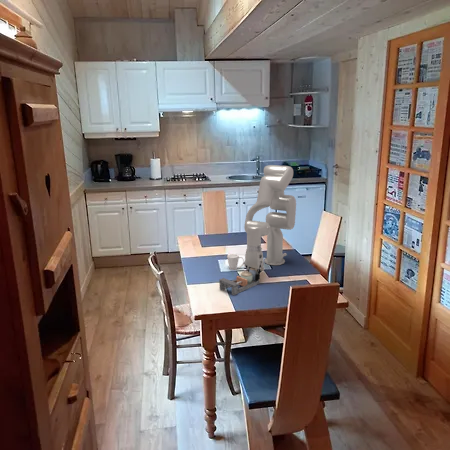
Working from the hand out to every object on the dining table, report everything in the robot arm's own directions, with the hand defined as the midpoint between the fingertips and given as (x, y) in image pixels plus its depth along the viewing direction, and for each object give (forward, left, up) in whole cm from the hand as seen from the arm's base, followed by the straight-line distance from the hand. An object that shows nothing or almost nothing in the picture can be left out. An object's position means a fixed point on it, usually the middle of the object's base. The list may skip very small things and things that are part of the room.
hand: (253, 278), depth 232 cm
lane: (+11, 0, -1) cm, 11 cm away
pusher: (+14, 0, -1) cm, 14 cm away
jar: (0, 0, -1) cm, 1 cm away
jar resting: (+6, 0, -2) cm, 6 cm away
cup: (-6, -20, -2) cm, 21 cm away
